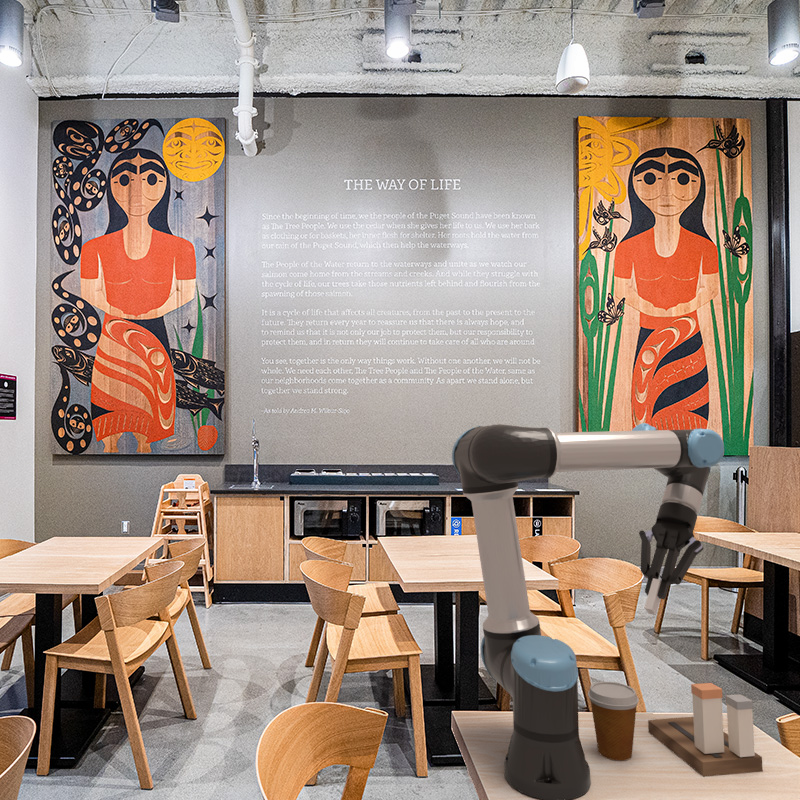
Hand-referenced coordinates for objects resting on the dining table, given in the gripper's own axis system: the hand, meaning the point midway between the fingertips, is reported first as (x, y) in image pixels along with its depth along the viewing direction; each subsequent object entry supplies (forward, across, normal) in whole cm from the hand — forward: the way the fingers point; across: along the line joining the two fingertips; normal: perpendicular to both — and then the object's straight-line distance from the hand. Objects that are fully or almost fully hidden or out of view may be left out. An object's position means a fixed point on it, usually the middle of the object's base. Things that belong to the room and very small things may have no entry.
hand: (650, 611), depth 123 cm
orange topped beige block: (+18, -11, -15) cm, 26 cm away
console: (+18, -9, -20) cm, 28 cm away
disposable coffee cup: (+26, +3, -11) cm, 28 cm away
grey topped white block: (+16, -16, -17) cm, 29 cm away
